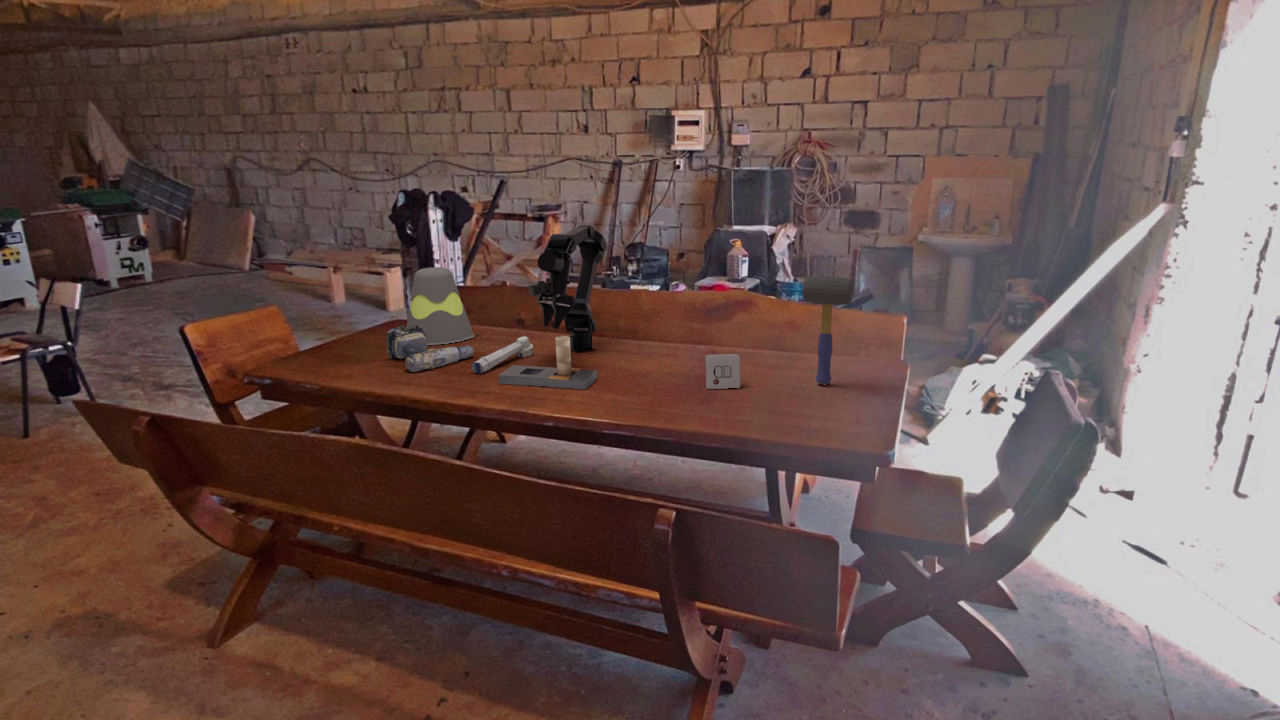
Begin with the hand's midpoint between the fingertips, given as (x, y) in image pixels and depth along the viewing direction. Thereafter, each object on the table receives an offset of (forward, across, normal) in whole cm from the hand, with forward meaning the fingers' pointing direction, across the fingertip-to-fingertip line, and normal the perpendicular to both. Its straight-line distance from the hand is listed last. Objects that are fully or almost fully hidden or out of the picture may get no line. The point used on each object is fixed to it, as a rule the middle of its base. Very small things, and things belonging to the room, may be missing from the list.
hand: (550, 327), depth 225 cm
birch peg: (+15, +16, +1) cm, 22 cm away
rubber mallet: (+3, +53, +62) cm, 81 cm away
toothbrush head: (+14, -12, -9) cm, 20 cm away
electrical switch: (+8, +40, +38) cm, 56 cm away
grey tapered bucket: (+10, -56, -21) cm, 61 cm away
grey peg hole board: (+15, +13, -2) cm, 20 cm away
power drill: (+18, -26, -30) cm, 44 cm away
